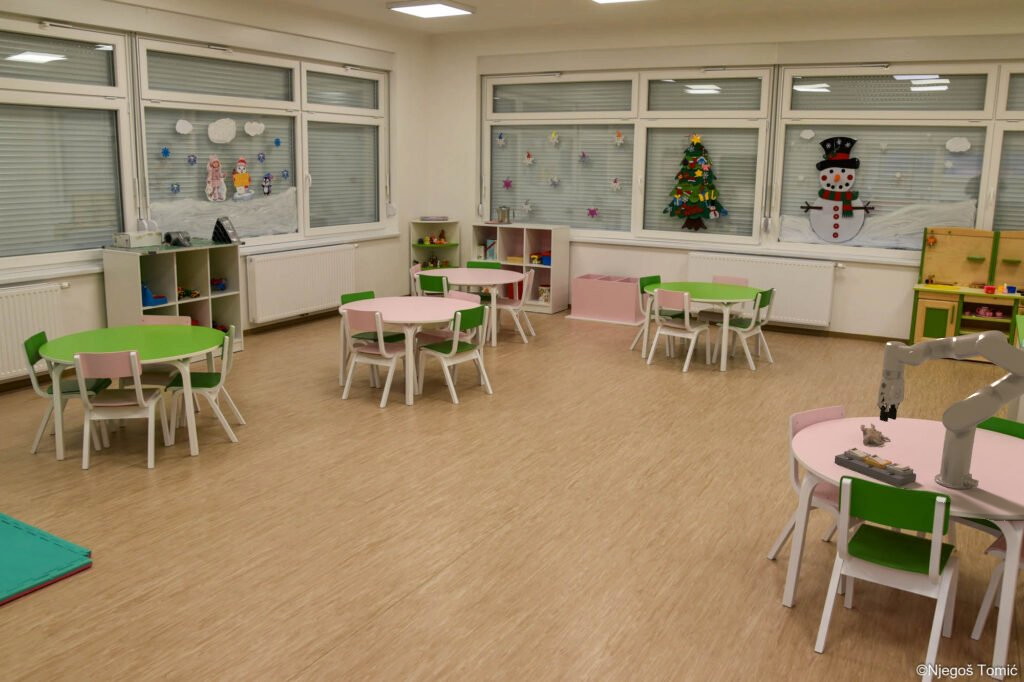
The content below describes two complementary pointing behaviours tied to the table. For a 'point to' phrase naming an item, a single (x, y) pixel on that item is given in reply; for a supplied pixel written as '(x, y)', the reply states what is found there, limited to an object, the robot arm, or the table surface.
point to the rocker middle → (877, 459)
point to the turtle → (872, 435)
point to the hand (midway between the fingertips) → (887, 419)
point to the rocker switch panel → (876, 469)
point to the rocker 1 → (857, 452)
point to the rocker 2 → (900, 467)
